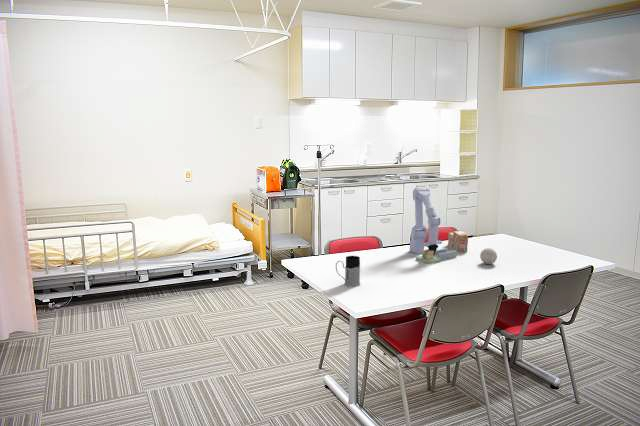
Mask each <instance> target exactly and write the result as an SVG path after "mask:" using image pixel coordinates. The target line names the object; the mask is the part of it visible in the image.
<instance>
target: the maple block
mask: <svg viewBox="0 0 640 426" xmlns="http://www.w3.org/2000/svg"><path fill="white" fill-rule="evenodd" d="M421 256H422V258H424V259H428V260H429V259H433V258H434V251H433V250H429V249H428V248H427V249H424V250H423V251H422V254H421Z"/></svg>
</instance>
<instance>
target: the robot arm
mask: <svg viewBox="0 0 640 426" xmlns="http://www.w3.org/2000/svg"><path fill="white" fill-rule="evenodd" d="M430 197H431V190H430V188H429V187H415V188H414V189H413V191H412V200H413V201H414V210H415V211H414V217H415V225H414V226H413V227H412V228H411V233H410V237H411V239H410V242H409V250H408V252H410V253H413V254H418V255H422V251H423V250H425V248H427V249H429V250H433V251H434V255H435V252H436V250H438V248H439V245H441V244H442V243H443V241H442V240H440V239H439V226H440V225H441V217H440V216H439V215H438V214H437V213H436V210H435V207H434V206H432V203H431V200H430ZM423 206H425V207H423ZM423 208H425V215H426V216H427V225H428V230H427V227H426V226H424V211H423ZM427 237H428V241H426V242H425V240H427ZM438 239H439V240H438Z"/></svg>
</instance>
